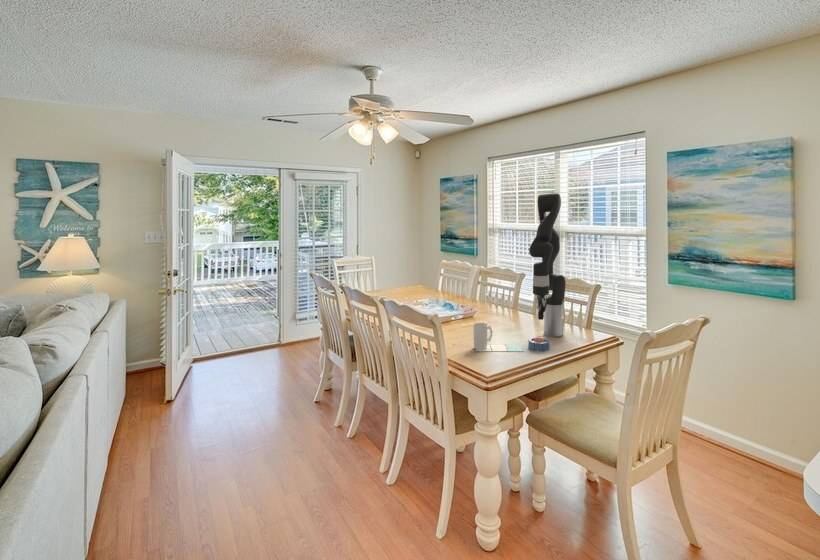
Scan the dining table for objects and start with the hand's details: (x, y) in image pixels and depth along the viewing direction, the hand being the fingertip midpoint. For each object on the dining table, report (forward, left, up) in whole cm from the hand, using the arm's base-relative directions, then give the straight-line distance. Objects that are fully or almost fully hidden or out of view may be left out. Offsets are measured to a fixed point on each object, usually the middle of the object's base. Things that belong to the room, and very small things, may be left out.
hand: (540, 319), depth 206 cm
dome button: (0, 0, -14) cm, 14 cm away
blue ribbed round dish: (0, 0, -15) cm, 15 cm away
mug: (+24, -14, -15) cm, 31 cm away
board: (+17, -10, -15) cm, 25 cm away
